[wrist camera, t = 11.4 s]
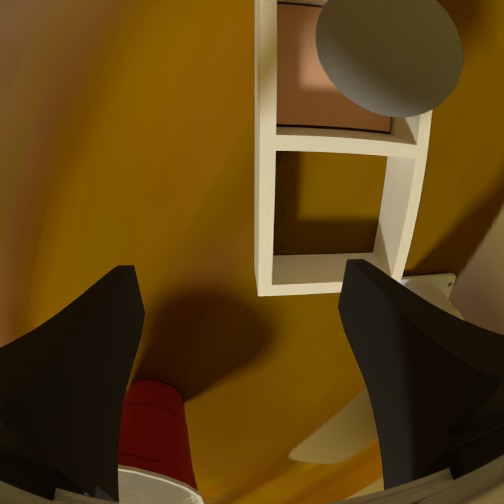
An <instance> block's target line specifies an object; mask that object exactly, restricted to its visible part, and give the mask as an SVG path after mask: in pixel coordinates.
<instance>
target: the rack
mask: <svg viewBox="0 0 504 504" xmlns="http://www.w3.org/2000/svg"><path fill="white" fill-rule="evenodd" d="M327 1H328V0H255V255H254V267H255V275H256V283H257V291H258V296H277V295H298V294H317V293H334V292H341V289H342V283H343V278H344V272H345V267H346V261H347V259H364V260H366V261H368V262H369V263H371V264H373V265H374V266H376V267H377V268H379V269H380V270H382V271H383V272H385V273H386V274H387V275H389V276H390V277H392V278H393V279H395V280H396V281H398V282H399V283H400V282H401V278H402V275H403V271H404V267H405V263H406V260H407V256H408V252H409V248H410V243H411V239H412V235H413V230H414V226H415V221H416V217H417V212H418V207H419V201H420V196H421V191H422V185H423V179H424V173H425V166H426V159H427V152H428V144H429V135H430V126H431V115H432V112H433V109H432V110H430V111H428V112H426V113H423V114H420V115H416V116H412V117H400V118H397V117H390V116H384V115H380V114H377V113H374V112H371V111H368V110H366V109H365V108H363V107H361V106H359V105H357V104H356V103H354V102H352V101H351V100H350V99H348V98H347V97H346V96H345V95H343V94H342V93H341V92H340V91H339V90H338V89H337V87H336V86H335V85H334V84H333V83H332V82H331V81H330V79H329V77H328V76H327V74H326V73H325V71H324V70H323V67H322V66H321V65H320V63H319V60H318V53H317V48H316V26H317V21H318V17H319V15H320V13H321V11H322V9H323V8H319V7H311V6H301V5H289V4H277V2H283V3H296V4H307V5H316V6H324V5H325V3H326V2H327ZM390 123H391V129H390ZM276 124H293V125H317V126H334V127H347V128H359V129H369V130H378V131H387V132H390V134H383V133H374V132H364V131H352V130H339V129H324V128H303V127H276ZM276 151H316V152H339V153H356V154H370V155H382V156H388V159H387V167H386V175H385V183H384V190H383V196H382V203H381V209H380V215H379V221H378V227H377V233H376V238H375V243H374V249H373V253H345V254H314V255H281V256H273V235H274V202H275V163H276Z"/></svg>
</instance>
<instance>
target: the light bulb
mask: <svg viewBox="0 0 504 504" xmlns="http://www.w3.org/2000/svg"><path fill="white" fill-rule="evenodd" d="M316 48H317V53H318V60H319V63H320V65H321V66H322V67H323V70H324V71H325V73H326V74H327V76H328V77H329V79H330V81H331V82H332V83H333V84H334V85H335V86H336V87H337V89H338V90H339V91H340V92H341V93H342V94H343V95H345V96H346V97H347V98H348V99H350V100H351V101H352V102H354V103H356V104H357V105H359V106H361V107H363V108H365V109H366V110H368V111H371V112H374V113H377V114H380V115H384V116H390V117H397V118H400V117H412V116H416V115H420V114H423V113H426V112H428V111H430V110H432V109H434V108H435V107H437V106H439V105H440V104H441V103H442V102H443V101H444V100H445V99H446V98H447V97H449V96H450V94H451V93H452V91H453V90H454V88H455V87H456V85H457V83H458V80H459V78H460V75H461V72H462V66H463V49H462V43H461V39H460V36H459V33H458V30H457V28H456V26H455V24H454V22H453V20H452V18H451V17H450V16H449V14H448V13H447V11H446V10H445V9H444V8H443V7H442V6H441V5H440V4H439V3H438V1H437V0H328V1H327V2H326V3H325V5H324V6H323V9H322V11H321V13H320V15H319V17H318V21H317V26H316Z"/></svg>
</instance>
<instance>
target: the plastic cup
mask: <svg viewBox="0 0 504 504" xmlns="http://www.w3.org/2000/svg"><path fill="white" fill-rule="evenodd" d="M118 488H119V503H122V504H204V502H203V499H202V496H201V494H200V492H199V491H198V490H197V485H196V482H195V476H194V473H193V468H192V461H191V454H190V446H189V438H188V429H187V425H186V420H185V410H184V403H183V400H182V396H181V394H180V393H179V392H178V391H177V390H176V388H174V387H172V386H170V385H168V384H166V383H163V382H159V381H156V380H142V381H137V382H135V383H134V384H133V385H131V387H130V389H129V390H128V391H127V393H126V395H125V398H124V401H123V409H122V417H121V425H120V437H119V454H118Z"/></svg>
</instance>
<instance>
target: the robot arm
mask: <svg viewBox="0 0 504 504" xmlns="http://www.w3.org/2000/svg"><path fill="white" fill-rule="evenodd" d="M455 279H456V276H455V275H454V274H453V273H446V274H434V275H421V276H407V277H402V278H401V282H400V283H399V282H398V281H396V280H395V279H393V278H392V277H390V276H389V275H387V274H386V273H385V272H383V271H382V270H380V269H379V268H377V267H376V266H374V265H373V264H371V263H369V262H368V261H366V260H364V259H347V261H346V267H345V272H344V278H343V283H342V289H341V294H340V299H339V304H338V309H339V313H340V317H341V321H342V324H343V328H344V331H345V334H346V336H347V339H348V341H349V343H350V346H351V348H352V351H353V353H354V356H355V358H356V361H357V363H358V365H359V368H360V370H361V373H362V375H363V378H364V380H365V383H366V386H367V389H368V393H369V397H370V401H371V405H372V408H373V413H374V418H375V423H376V428H377V433H378V438H379V445H380V452H381V458H382V468H383V479H384V490H383V491H379V492H375V493H372V494H368V495H364V496H359V497H355V498H351V499H346V500H341V501H336V502H331V503H325V504H504V335H501V334H498V333H495V332H492V331H488V330H486V329H483V328H481V327H478V326H476V325H474V324H471V323H469V322H467V321H465V320H464V319H463V317H462V316H461V315H460V314H459V312H458V311H457V310H456V308H455V307H454V306H453V304H452V303H451V302H450V301H449V299H448V298H449V295H450V293H451V290H452V287H453V285H454V282H455ZM144 316H145V311H144V307H143V303H142V298H141V294H140V290H139V285H138V281H137V276H136V272H135V267H134V265H127V266H117V267H115V268H114V269H112V270H111V271H110V272H108V273H107V274H106V275H105V276H103V277H102V278H101V279H100V280H99V281H97V282H96V283H95V284H94V285H93V286H91V287H90V288H89V289H88V290H87V291H85V292H84V293H83V294H82V295H81V296H79V297H78V298H77V299H76V300H74V301H73V302H72V303H70V304H69V305H68V306H67V307H65V308H64V309H63V310H62V311H60V312H59V313H58V314H56V315H55V316H53V317H52V318H51V319H49V320H48V321H46V322H45V323H43V324H42V325H40V326H39V327H37V328H36V329H34V330H32V331H31V332H29V333H27V334H25V335H23V336H22V337H20V338H18V339H16V340H15V341H13V342H11V343H9V344H7V345H5V346H3V347H1V348H0V504H122V503H119V488H118V454H119V437H120V425H121V417H122V409H123V401H124V396H125V392H126V387H127V384H128V380H129V377H130V373H131V370H132V366H133V363H134V359H135V356H136V353H137V349H138V346H139V342H140V339H141V334H142V328H143V322H144Z"/></svg>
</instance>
